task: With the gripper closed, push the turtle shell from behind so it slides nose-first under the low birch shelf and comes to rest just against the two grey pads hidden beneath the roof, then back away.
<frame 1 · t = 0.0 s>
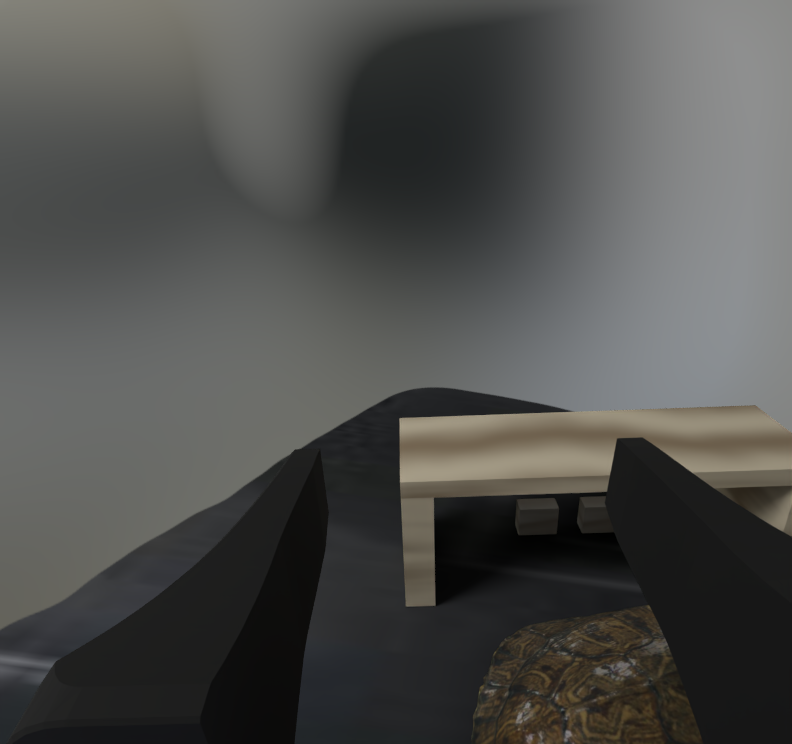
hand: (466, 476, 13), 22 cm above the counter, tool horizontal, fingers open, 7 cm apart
birch shelf: (579, 558, 40), on the counter
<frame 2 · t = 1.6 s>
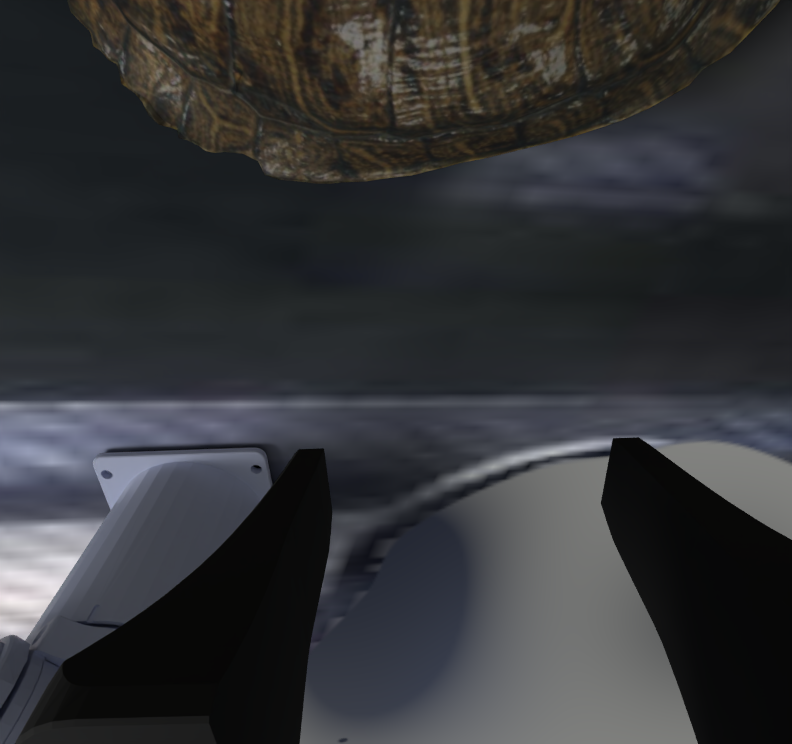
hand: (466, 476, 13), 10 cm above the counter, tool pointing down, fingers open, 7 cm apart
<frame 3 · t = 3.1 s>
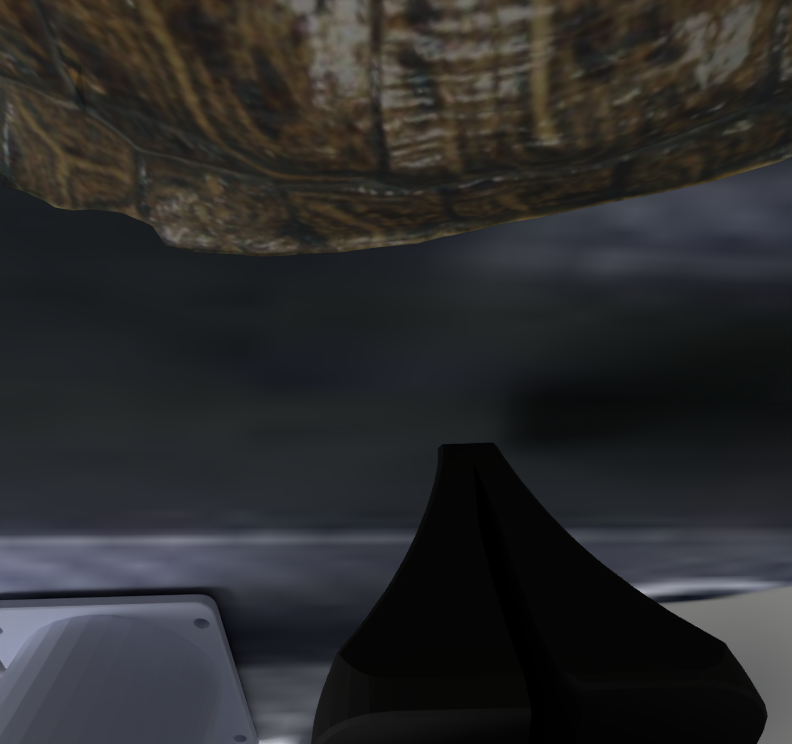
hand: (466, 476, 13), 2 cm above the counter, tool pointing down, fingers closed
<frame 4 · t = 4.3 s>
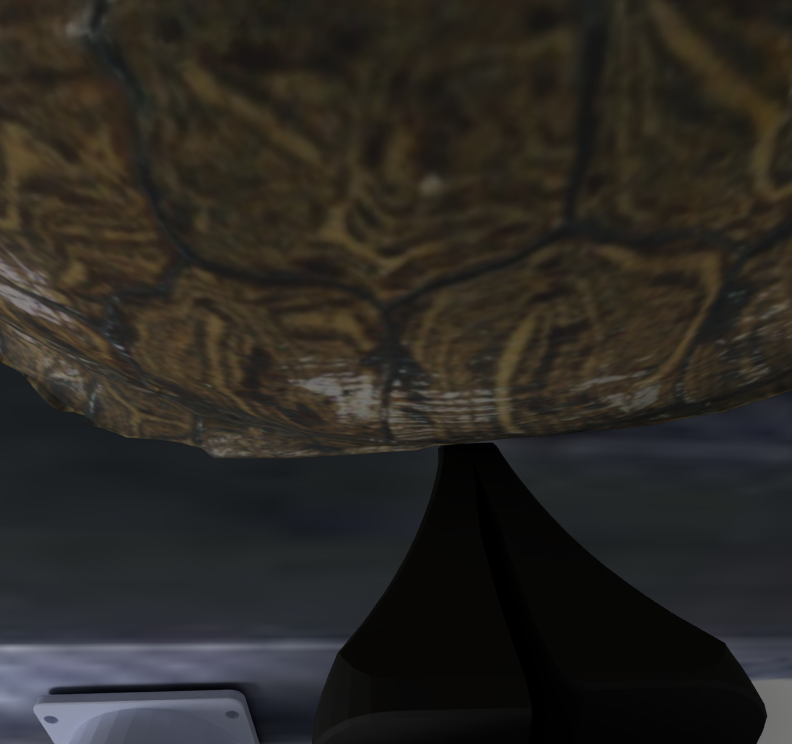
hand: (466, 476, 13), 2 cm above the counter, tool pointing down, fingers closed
turtle shell: (393, 43, 11), on the counter, touching gripper
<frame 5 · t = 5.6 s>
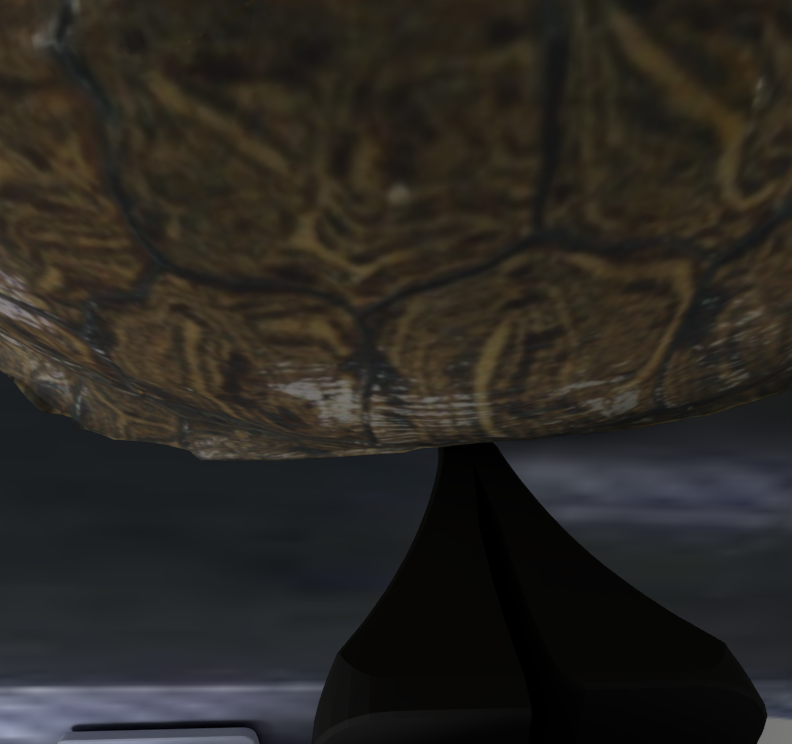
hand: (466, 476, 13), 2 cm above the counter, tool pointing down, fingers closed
turtle shell: (379, 47, 11), on the counter, touching gripper
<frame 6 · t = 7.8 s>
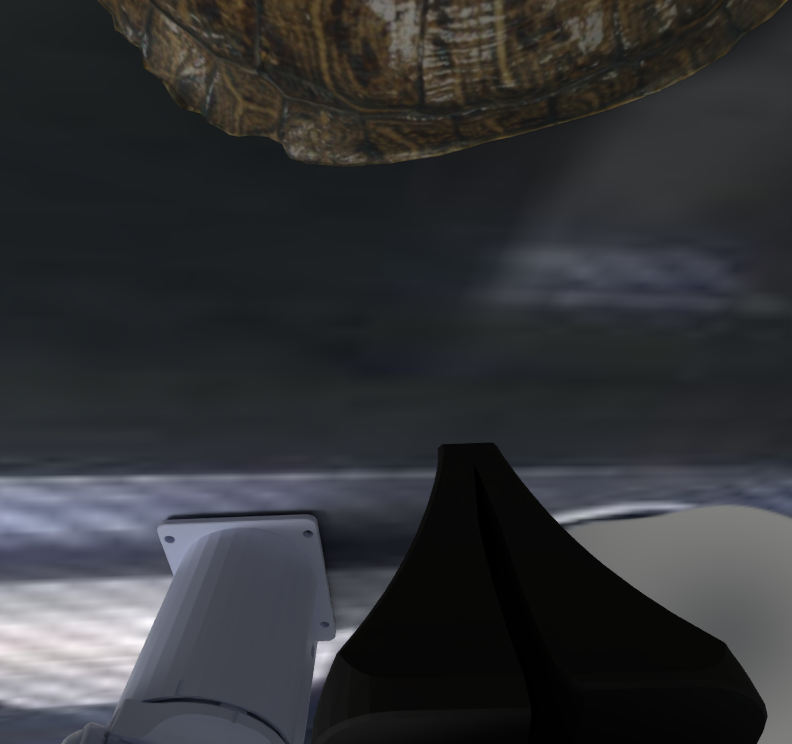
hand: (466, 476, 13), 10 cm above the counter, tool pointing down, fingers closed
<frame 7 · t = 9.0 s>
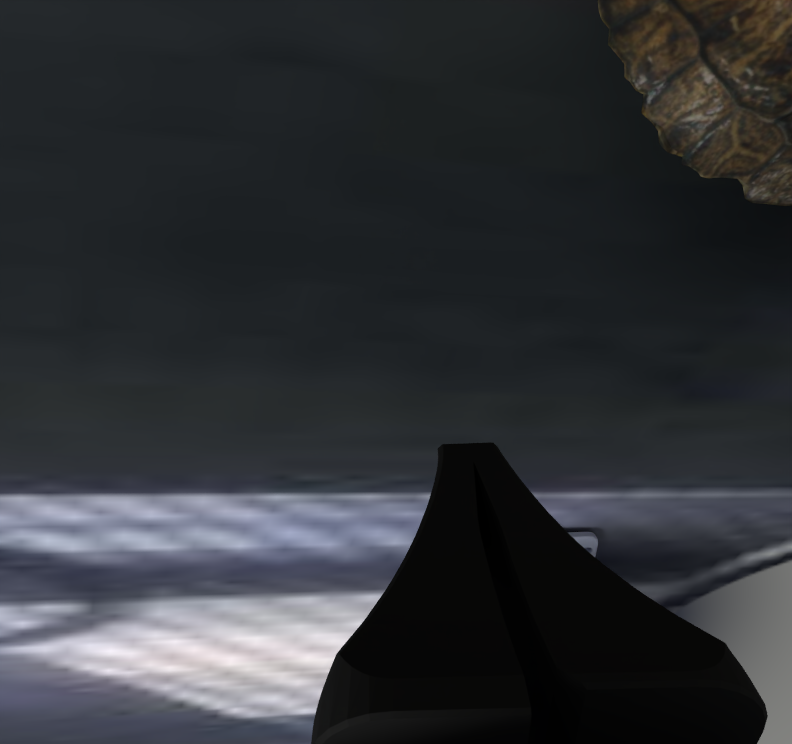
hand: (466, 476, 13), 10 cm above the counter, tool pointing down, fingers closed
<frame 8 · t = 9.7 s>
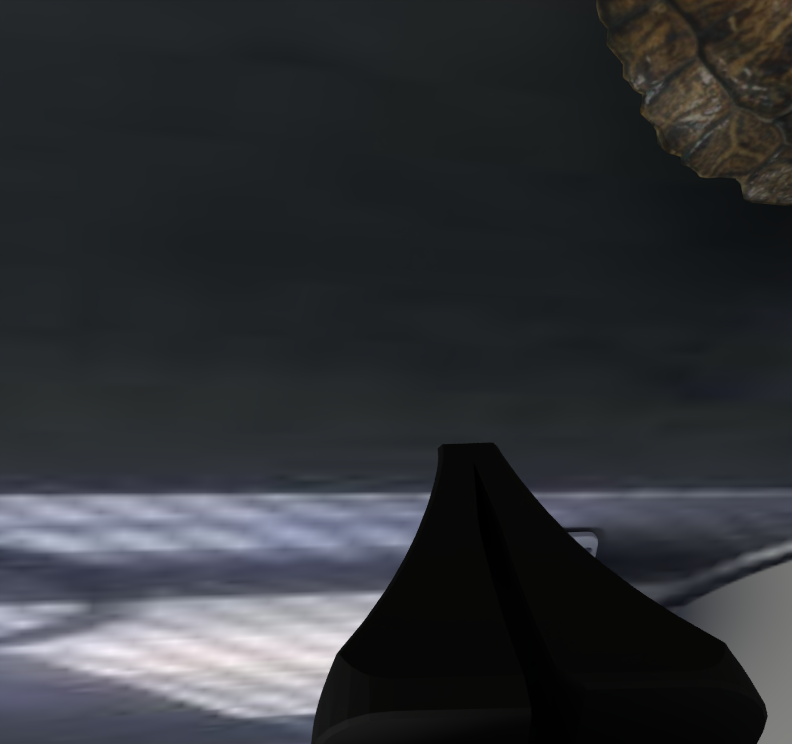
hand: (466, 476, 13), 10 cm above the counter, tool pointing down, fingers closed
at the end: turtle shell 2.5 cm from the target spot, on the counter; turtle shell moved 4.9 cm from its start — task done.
